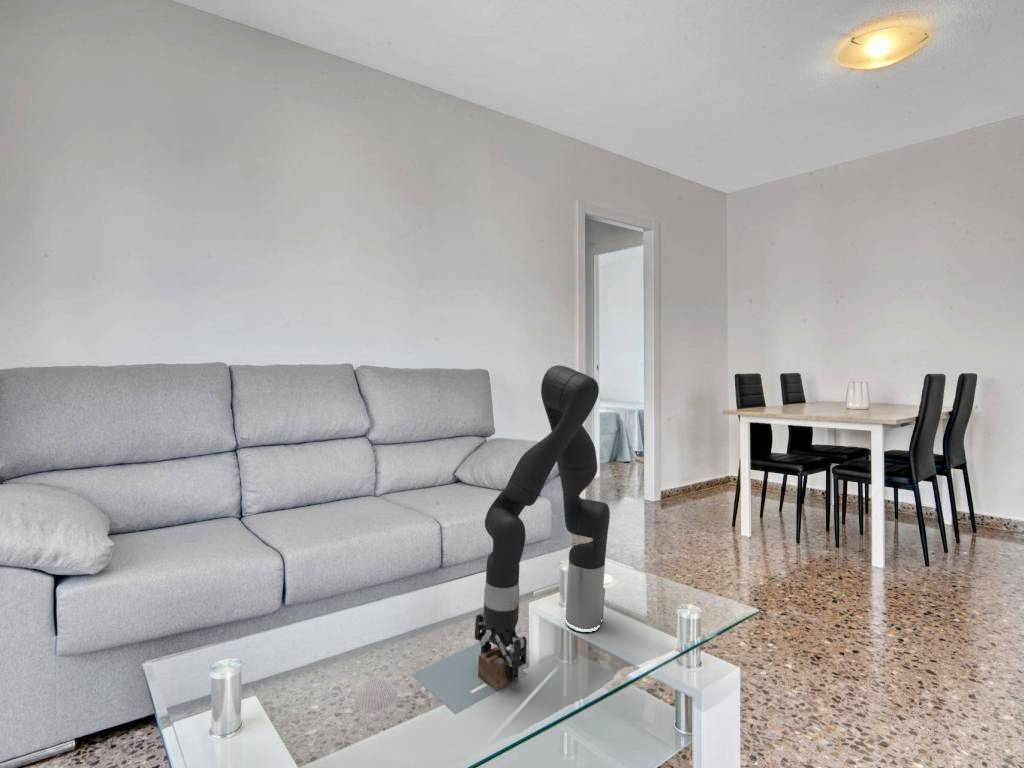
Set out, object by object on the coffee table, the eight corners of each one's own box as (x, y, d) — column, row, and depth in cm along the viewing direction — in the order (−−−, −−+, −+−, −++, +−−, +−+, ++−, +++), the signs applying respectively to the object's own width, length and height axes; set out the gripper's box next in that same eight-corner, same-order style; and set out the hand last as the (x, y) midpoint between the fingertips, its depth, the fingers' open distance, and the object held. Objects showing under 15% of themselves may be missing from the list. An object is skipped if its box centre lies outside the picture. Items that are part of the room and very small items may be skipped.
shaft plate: (481, 646, 142) (481, 625, 141) (527, 678, 131) (528, 657, 130) (410, 679, 129) (410, 657, 128) (455, 719, 117) (455, 695, 116)
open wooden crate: (499, 665, 133) (500, 642, 132) (518, 679, 128) (519, 655, 128) (478, 676, 129) (478, 653, 128) (496, 691, 124) (497, 666, 123)
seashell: (392, 667, 128) (407, 684, 120) (393, 692, 128) (408, 712, 119) (344, 678, 123) (356, 697, 115) (345, 705, 123) (357, 726, 114)
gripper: (466, 592, 129) (464, 661, 131) (511, 620, 118) (507, 694, 121) (493, 582, 134) (490, 648, 136) (537, 608, 123) (533, 679, 126)
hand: (498, 670), depth 128 cm, fingers open, 8 cm apart
